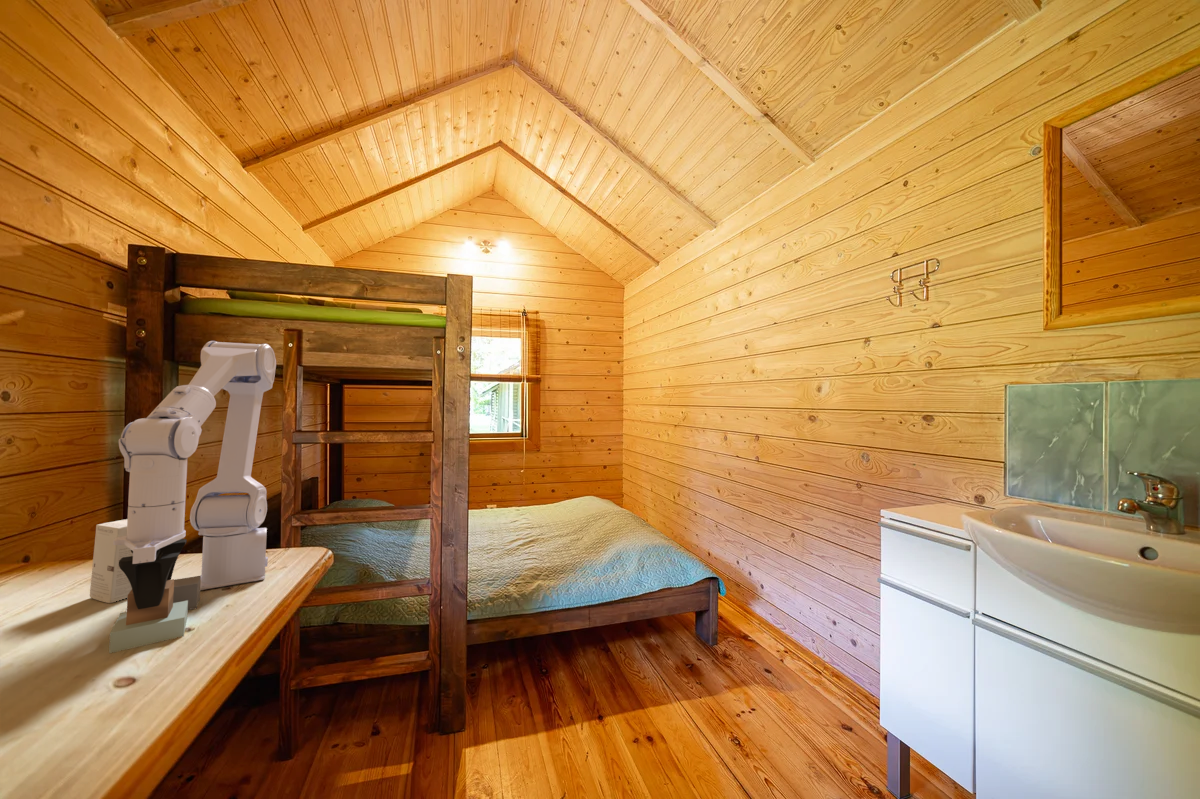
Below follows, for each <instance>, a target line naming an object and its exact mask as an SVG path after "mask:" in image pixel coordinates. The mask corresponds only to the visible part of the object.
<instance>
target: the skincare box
mask: <svg viewBox="0 0 1200 799" xmlns="http://www.w3.org/2000/svg"><path fill="white" fill-rule="evenodd" d="M127 519H128V518H126V519H121V520H115V521H109V522H103V523H99V524H96V525H95V535H94V536H95V537H94V546H93V558H92V568H91V577H90V578H91V579H90V589H89V598H90V599H93V600H96V601H100V602H103V603H107V604H112V603H116V601H117V602H120V601H119V600H121V601H123V600H122V599H124V600H126V599H125V598H128V594H129V593H130V591H131V590H132V587H131V584H130V582H129V580H128V578H127V576H126V575H125V573H124V572H123V571H122V570H121V569H120V567H119V561H120V559H121V558H123V557H130V556H133V553H132V552H131V549H130V548H128V547H127V546H126V545H113V541H114V539H116V538H117V537H123V536H127Z"/></svg>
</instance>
